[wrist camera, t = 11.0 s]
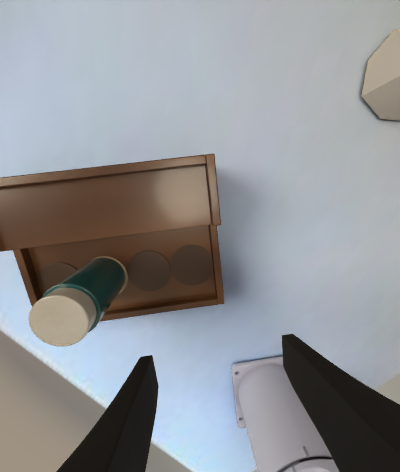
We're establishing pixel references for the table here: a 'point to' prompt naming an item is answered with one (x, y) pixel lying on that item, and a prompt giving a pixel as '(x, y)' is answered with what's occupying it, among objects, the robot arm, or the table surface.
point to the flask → (384, 79)
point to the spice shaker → (77, 302)
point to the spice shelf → (120, 230)
